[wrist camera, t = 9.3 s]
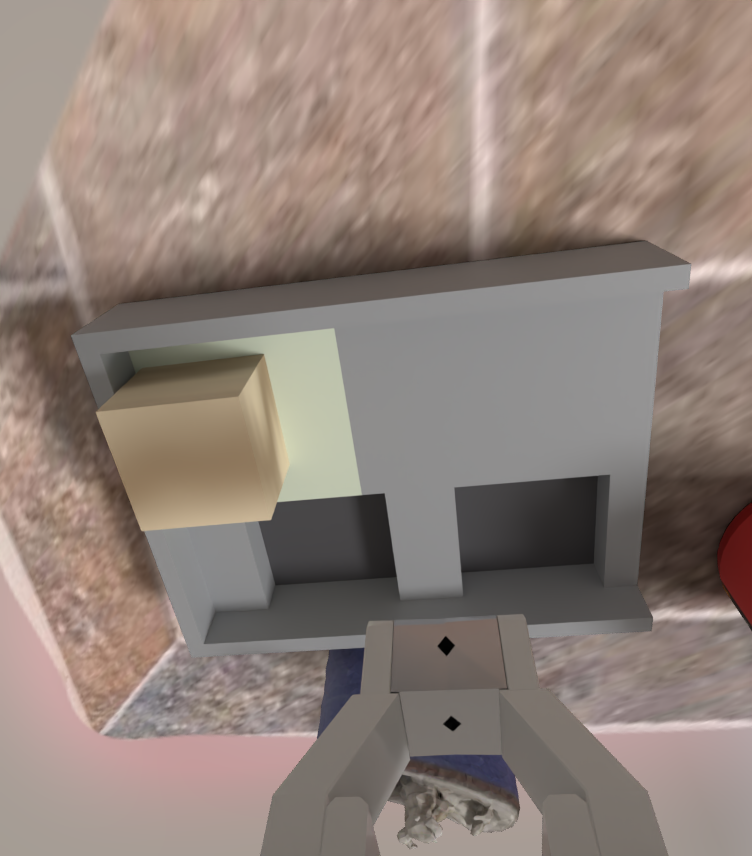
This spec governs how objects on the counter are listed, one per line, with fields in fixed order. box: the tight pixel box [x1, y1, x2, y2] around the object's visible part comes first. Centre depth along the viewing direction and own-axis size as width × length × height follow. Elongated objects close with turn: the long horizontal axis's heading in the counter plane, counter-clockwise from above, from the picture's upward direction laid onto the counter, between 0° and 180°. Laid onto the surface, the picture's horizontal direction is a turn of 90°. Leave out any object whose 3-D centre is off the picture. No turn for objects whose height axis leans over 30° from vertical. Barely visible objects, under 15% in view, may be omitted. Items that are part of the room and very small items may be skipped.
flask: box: [317, 648, 520, 849], centre depth 28 cm, size 9×3×11 cm, turn 71°
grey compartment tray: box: [71, 241, 691, 657], centre depth 26 cm, size 16×21×4 cm
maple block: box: [96, 354, 290, 531], centre depth 23 cm, size 5×5×4 cm
